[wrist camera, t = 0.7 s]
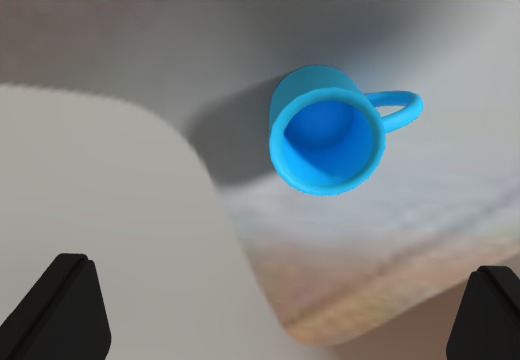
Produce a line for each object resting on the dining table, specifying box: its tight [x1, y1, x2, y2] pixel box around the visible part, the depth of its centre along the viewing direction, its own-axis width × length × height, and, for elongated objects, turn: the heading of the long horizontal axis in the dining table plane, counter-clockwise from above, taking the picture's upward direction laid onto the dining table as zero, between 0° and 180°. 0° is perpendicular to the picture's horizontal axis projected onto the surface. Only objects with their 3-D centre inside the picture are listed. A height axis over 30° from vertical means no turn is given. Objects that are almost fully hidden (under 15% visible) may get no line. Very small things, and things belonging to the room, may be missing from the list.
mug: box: [269, 65, 423, 196], centre depth 31 cm, size 12×8×8 cm
